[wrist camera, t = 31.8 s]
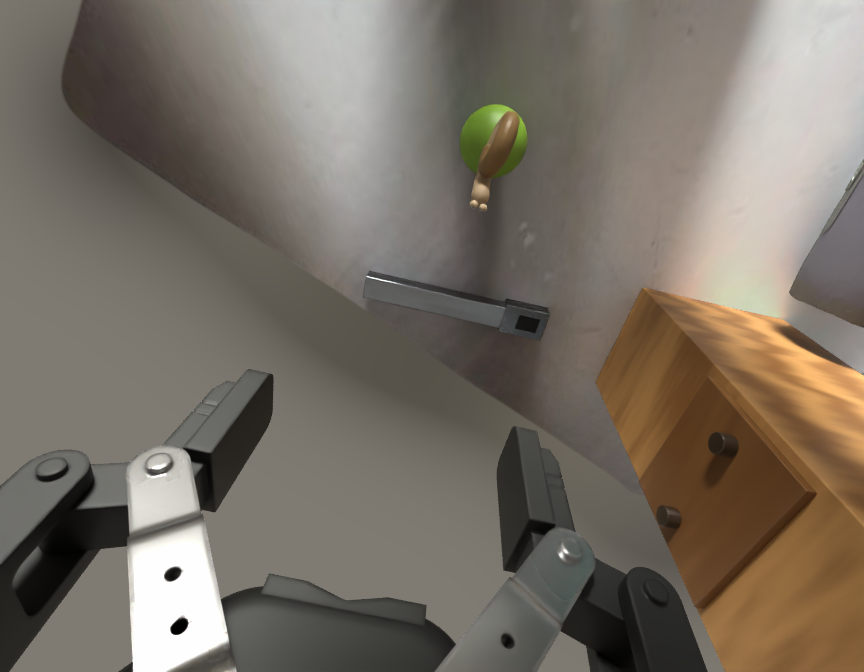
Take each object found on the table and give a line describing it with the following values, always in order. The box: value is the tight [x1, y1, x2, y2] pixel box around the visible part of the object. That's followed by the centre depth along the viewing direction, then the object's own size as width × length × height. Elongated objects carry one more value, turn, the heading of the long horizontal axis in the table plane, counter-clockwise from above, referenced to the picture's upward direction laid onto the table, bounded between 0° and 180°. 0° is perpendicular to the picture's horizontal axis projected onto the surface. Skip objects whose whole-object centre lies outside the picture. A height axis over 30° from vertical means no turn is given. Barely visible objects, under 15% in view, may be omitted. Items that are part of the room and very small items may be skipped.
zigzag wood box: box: [596, 288, 864, 672], centre depth 31 cm, size 17×12×34 cm
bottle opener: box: [363, 271, 550, 341], centre depth 44 cm, size 19×3×2 cm, turn 78°
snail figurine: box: [460, 105, 527, 212], centre depth 32 cm, size 5×6×12 cm
